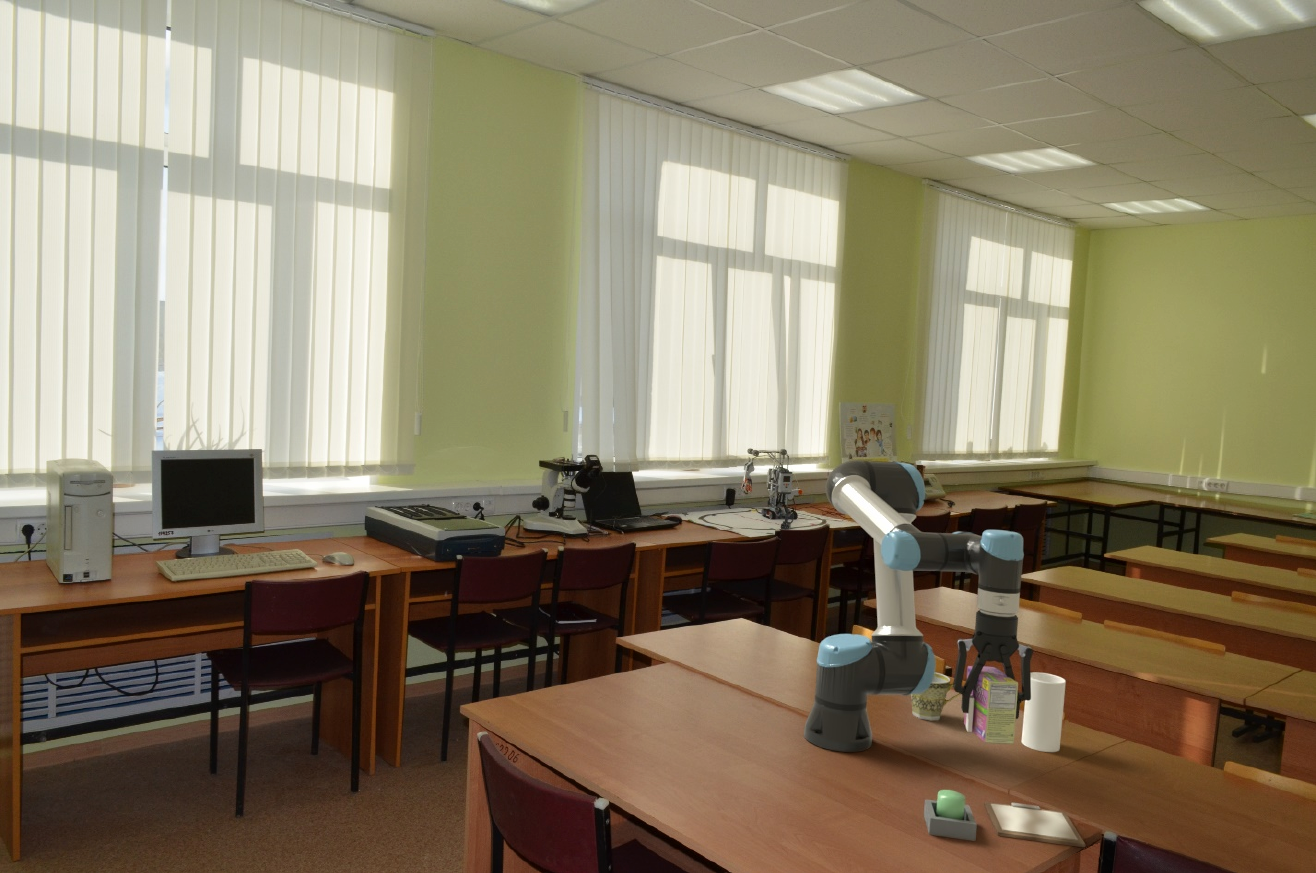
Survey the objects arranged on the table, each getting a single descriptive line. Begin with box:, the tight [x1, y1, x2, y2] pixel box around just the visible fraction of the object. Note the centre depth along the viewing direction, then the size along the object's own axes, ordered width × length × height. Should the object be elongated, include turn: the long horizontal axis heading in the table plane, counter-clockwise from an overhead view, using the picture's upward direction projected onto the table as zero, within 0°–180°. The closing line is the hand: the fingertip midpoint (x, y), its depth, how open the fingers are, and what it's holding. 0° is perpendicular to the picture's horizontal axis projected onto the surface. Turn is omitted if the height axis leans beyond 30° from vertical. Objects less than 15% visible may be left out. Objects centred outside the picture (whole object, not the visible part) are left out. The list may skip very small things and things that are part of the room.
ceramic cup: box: [910, 671, 962, 721], centre depth 229 cm, size 13×10×10 cm
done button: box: [936, 789, 966, 820], centre depth 169 cm, size 5×5×4 cm
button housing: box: [923, 799, 978, 842], centre depth 169 cm, size 8×8×3 cm
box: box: [963, 665, 1019, 745], centre depth 175 cm, size 10×6×12 cm, turn 3°
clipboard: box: [984, 801, 1086, 848], centre depth 172 cm, size 15×13×1 cm
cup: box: [1021, 672, 1067, 753], centre depth 214 cm, size 8×8×16 cm
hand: (988, 732), depth 176 cm, fingers closed on box, 6 cm apart
